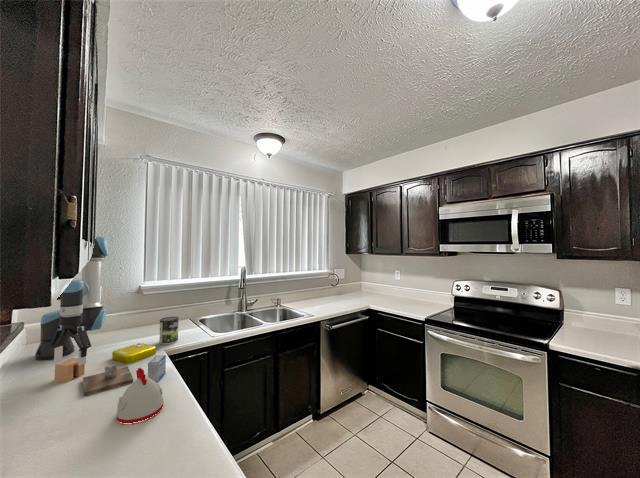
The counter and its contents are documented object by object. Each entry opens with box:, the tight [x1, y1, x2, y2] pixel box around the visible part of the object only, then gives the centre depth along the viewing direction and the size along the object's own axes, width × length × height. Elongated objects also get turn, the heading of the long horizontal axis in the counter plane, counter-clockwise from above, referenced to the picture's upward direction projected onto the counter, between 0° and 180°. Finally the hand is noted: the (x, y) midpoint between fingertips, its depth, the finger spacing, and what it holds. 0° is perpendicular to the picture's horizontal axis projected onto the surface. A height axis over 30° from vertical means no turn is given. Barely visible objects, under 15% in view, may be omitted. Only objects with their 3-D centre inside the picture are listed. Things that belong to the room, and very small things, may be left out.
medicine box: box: [147, 354, 167, 383], centre depth 120 cm, size 8×4×9 cm, turn 9°
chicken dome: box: [116, 367, 164, 423], centre depth 96 cm, size 14×14×15 cm
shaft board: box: [82, 363, 134, 397], centre depth 116 cm, size 16×16×6 cm
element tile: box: [111, 342, 156, 365], centre depth 143 cm, size 15×15×5 cm
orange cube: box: [54, 357, 86, 383], centre depth 120 cm, size 7×7×7 cm
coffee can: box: [159, 316, 180, 345], centre depth 165 cm, size 10×10×14 cm
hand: (69, 363), depth 120 cm, fingers open, 13 cm apart
